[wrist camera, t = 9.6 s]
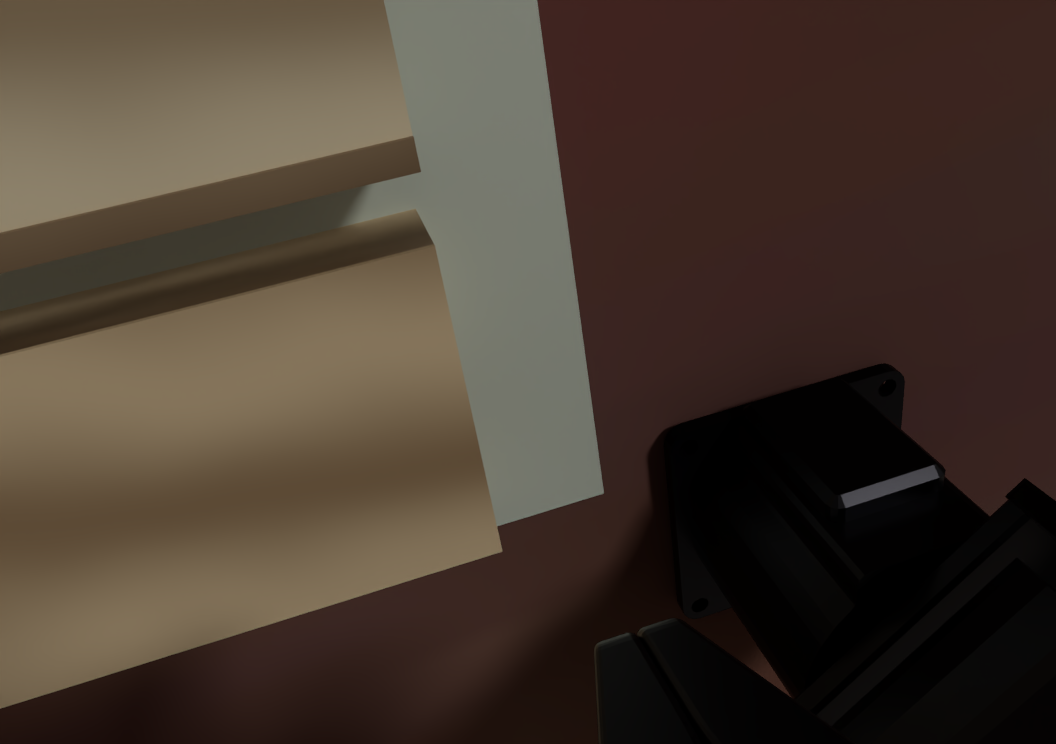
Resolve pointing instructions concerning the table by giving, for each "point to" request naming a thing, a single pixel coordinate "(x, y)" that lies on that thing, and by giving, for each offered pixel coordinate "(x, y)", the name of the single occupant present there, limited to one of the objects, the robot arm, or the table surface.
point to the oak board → (229, 450)
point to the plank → (186, 115)
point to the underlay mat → (447, 242)
